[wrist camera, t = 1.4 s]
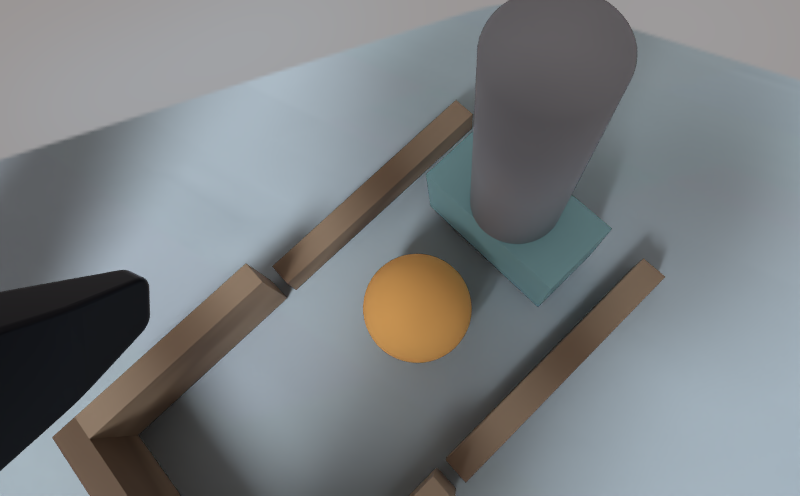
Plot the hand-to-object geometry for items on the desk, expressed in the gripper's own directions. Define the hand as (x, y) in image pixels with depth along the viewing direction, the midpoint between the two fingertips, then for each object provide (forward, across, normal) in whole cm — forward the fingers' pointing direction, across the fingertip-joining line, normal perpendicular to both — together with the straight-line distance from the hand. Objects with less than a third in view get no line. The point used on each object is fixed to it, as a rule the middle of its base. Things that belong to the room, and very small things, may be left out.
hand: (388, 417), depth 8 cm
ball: (+10, +2, +6) cm, 12 cm away
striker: (+15, 0, +4) cm, 15 cm away
